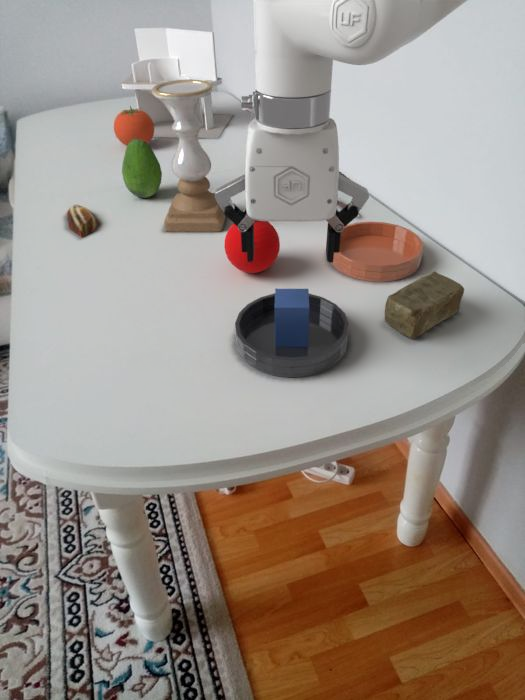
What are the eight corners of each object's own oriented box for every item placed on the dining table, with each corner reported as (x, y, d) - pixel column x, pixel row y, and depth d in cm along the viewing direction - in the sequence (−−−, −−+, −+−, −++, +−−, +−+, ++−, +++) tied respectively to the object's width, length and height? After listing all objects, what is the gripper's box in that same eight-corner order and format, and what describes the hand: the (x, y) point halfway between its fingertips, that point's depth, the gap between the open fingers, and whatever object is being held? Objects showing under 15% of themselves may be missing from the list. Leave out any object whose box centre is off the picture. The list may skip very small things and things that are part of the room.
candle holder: (228, 207, 106) (218, 77, 91) (221, 231, 97) (209, 94, 82) (175, 207, 107) (157, 79, 91) (164, 231, 98) (142, 95, 83)
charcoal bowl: (369, 340, 71) (372, 323, 69) (291, 395, 64) (291, 377, 62) (291, 296, 80) (291, 280, 78) (214, 340, 72) (212, 323, 70)
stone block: (379, 324, 74) (383, 295, 71) (429, 295, 79) (435, 266, 76) (412, 344, 70) (418, 314, 67) (462, 311, 76) (470, 282, 73)
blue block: (307, 327, 73) (308, 288, 69) (308, 347, 70) (309, 307, 66) (275, 327, 73) (275, 288, 69) (275, 347, 70) (274, 307, 66)
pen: (327, 198, 108) (327, 193, 108) (330, 197, 109) (330, 192, 108) (358, 218, 100) (358, 214, 100) (361, 218, 101) (362, 213, 100)
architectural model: (118, 136, 143) (99, 39, 128) (142, 114, 159) (127, 25, 144) (218, 138, 140) (209, 38, 125) (232, 115, 156) (226, 24, 141)
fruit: (156, 204, 108) (146, 146, 100) (121, 202, 109) (108, 144, 102) (170, 189, 114) (161, 133, 106) (136, 187, 115) (125, 131, 107)
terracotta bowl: (438, 257, 88) (441, 241, 86) (382, 292, 80) (385, 276, 78) (367, 228, 97) (368, 213, 95) (311, 258, 89) (311, 242, 87)
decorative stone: (56, 211, 107) (54, 203, 105) (83, 205, 109) (80, 197, 108) (76, 238, 97) (74, 230, 96) (105, 231, 99) (103, 222, 98)
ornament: (290, 265, 87) (291, 209, 81) (257, 289, 82) (255, 231, 76) (249, 250, 92) (246, 196, 85) (215, 272, 86) (209, 216, 80)
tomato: (111, 146, 137) (102, 105, 131) (146, 137, 142) (139, 98, 135) (128, 156, 131) (119, 114, 124) (164, 147, 135) (158, 106, 129)
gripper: (203, 120, 50) (216, 272, 61) (383, 118, 49) (364, 273, 60) (212, 98, 56) (223, 241, 67) (374, 97, 55) (358, 242, 66)
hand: (290, 256), depth 64 cm, fingers open, 9 cm apart
